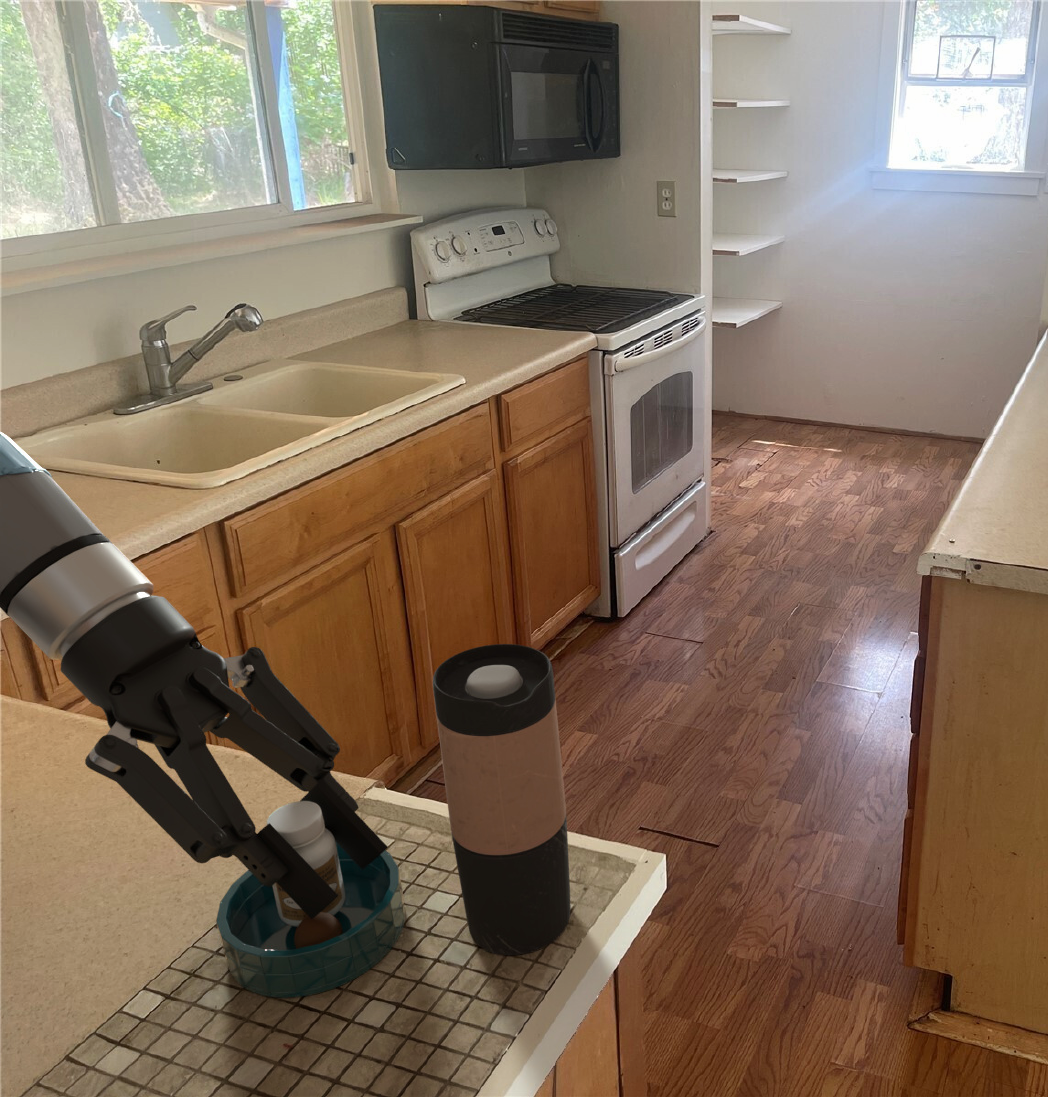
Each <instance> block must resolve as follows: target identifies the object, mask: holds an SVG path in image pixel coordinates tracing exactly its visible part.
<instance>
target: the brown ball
mask: <svg viewBox="0 0 1048 1097" xmlns="http://www.w3.org/2000/svg"><path fill="white" fill-rule="evenodd" d="M341 934H343V932H342V926H341V924H340V922H339V921H338V919H337V918H336V917H335V916H333V915H331V914H329V913H324V912H320V913H319V914H318V915H316V916H315V917H314V918H313V919H311V918H310V917H309V916H307V917H306V918H305V919H303V920H302V921H301V923H300V924H299V925H298V927H297V929H296V932H295V936H294V943H295V947H296V949H297V948H302V947H307V946H312V945H316V944H320V943H322V942H325V941H327V940H330V939H332V938H334V937H337V936H339V935H341Z"/></svg>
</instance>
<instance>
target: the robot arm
mask: <svg viewBox="0 0 1048 1097" xmlns="http://www.w3.org/2000/svg"><path fill="white" fill-rule="evenodd" d="M154 590H155V586H154V583H152V582H151V580H149V579H148V577H147V576H146V575H145V574H144V573H143V572H142V571H141V570H140V569H139V568H138V567H137V566H136V565H135V564H134V563H133V562H132V560H130V559H129V558H128V557H127V556H126V555H125V553H123V552H122V551H121V550H120V549H119V548H118V547H117V546H116V545H115V544H114V543H113V542H112V541H111V540H110V539H109V537H107V536H106V535H105V534H104V533H103V532H102V531H101V530H100V528H98V527H97V526H96V524H95V523H94V522H93V521H92V520H91V519H90V518H89V517H88V515H87V514H86V513H85V512H83V510H82V509H81V508H80V507H79V506H78V505H77V504H76V503H75V501H74V500H72V498H71V497H70V495H68V493H67V492H66V491H64V489H63V488H62V487H61V486H60V485H59V484H58V483H57V482H56V481H55V479H54V478H53V475H52V474H51V473H50V472H49V471H48V470H47V469H46V468H43V467H41V465H39V464H38V463H37V462H36V461H35V460H34V459H33V458H32V457H31V456H30V455H29V454H27V453H26V452H25V450H23V449H22V448H21V447H20V446H19V445H18V444H17V443H16V442H15V441H13V439H12V438H10V437H9V436H8V435H7V434H5V433H3V432H1V431H0V609H1V611H2V612H4V613H5V615H6V616H7V617H9V618H10V619H11V620H12V621H13V622H14V623H15V624H16V625H17V626H18V627H19V628H20V630H22V631H23V632H24V634H26V635H27V637H29V638H30V640H31V641H32V642H33V643H34V644H35V645H36V646H37V647H38V648H39V649H40V650H41V652H43V653H44V654H45V655H46V657H47V658H49V660H52V661H53V660H54V661H60V672H61V673H62V674H63V675H64V676H65V677H66V678H67V680H69V682H71V684H72V685H73V686H74V687H75V688H76V689H77V690H78V691H79V692H80V693H81V694H82V696H84V698H85V699H87V701H88V702H90V703H91V704H92V705H94V706H95V707H99V708H100V709H102V711H103V712H104V715H105V717H106V721H107V725H108V727H109V731H108V732H107V733H106V734H105V735H102V736H101V737H100V738H99V740H98V741H97V742H96V743H95V745H94V746H93V748H92V749H91V750H90V751H89V753H88V754H87V755H86V757H85V759H84V763H85V765H86V767H87V768H88V769H90V770H92V771H94V772H96V773H98V774H99V775H101V776H104V777H105V778H108V779H109V780H111V781H113V782H115V783H117V784H118V786H120V787H121V789H123V791H125V792H126V793H127V795H129V797H131V798H132V799H133V801H134V802H136V803H137V804H138V805H139V807H141V808H142V809H143V810H144V811H145V812H146V814H148V815H149V816H150V817H151V819H152V820H154V821H155V823H156V824H158V825H159V826H160V827H161V829H162V830H164V831H165V833H166V834H167V835H168V836H169V837H171V838H172V840H173V841H174V842H175V843H176V844H177V845H178V846H179V847H180V848H181V849H182V850H184V852H186V854H187V855H188V856H189V857H190V858H191V859H192V860H193V861H194V862H196V863H198V864H206V863H208V862H210V860H211V859H215V858H217V857H221V858H222V859H229V858H231V857H233V856H234V857H235V858H237V860H238V861H239V862H240V863H241V864H242V865H243V866H244V867H245V868H246V869H247V871H248V870H249V871H250V872H252V874H253V875H254V876H255V877H257V879H258V880H259V881H260V882H261V883H262V884H263V885H265V886H267V887H269V888H270V887H271V886H273V885H274V884H275V883H277V884H278V885H279V886H280V887H281V888H282V889H283V890H284V891H285V892H286V893H287V894H288V895H289V896H290V897H291V898H292V899H293V900H294V902H295V903H296V904H297V905H298V906H299V907H300V908H301V909H302V910H303V911H304V912H305V913H306V914H307V915H308V916H309V917H310V918H311V919H313V918H314V917H315V916H316V915H318V914H319V913H320V912H321V911H322V910H324V909H325V908H326V907H327V906H328V905H329V904H331V903H332V902H333V901H334V900H335V899H336V898H337V897H338V895H337V893H336V892H335V891H334V890H333V889H332V888H331V887H330V886H329V885H328V884H327V883H326V882H325V881H324V880H323V879H322V878H321V877H320V876H319V875H318V874H317V872H316V871H315V870H314V869H313V868H312V867H311V866H310V865H309V864H308V863H307V862H306V861H305V860H304V859H303V858H302V857H301V856H300V855H299V854H298V853H297V851H296V850H295V849H294V848H293V847H292V846H291V845H290V844H289V843H288V842H287V841H286V840H285V839H284V838H283V837H282V836H281V835H280V834H279V833H278V832H277V830H276V829H275V828H274V827H273V826H272V825H271V824H270V823H269V824H268V825H267V824H266V825H265V826H264V827H263V828H262V829H260V831H258V832H256V829H257V828H256V825H255V823H254V822H253V819H252V818H251V817H250V815H249V813H248V811H247V810H246V808H245V807H244V805H243V803H242V802H241V800H240V798H239V797H238V795H237V794H236V792H235V791H234V789H233V787H232V785H231V784H230V782H229V780H228V779H227V777H226V775H225V773H224V772H223V771H222V769H221V767H220V766H219V763H217V761H216V759H215V757H214V756H213V754H212V752H211V751H210V749H209V748H208V745H207V736H206V734H205V733H207V732H210V733H212V735H214V736H215V737H217V738H218V739H219V738H220V739H227V740H229V741H231V742H232V743H233V744H235V745H236V746H237V747H239V748H240V749H242V750H243V751H245V752H246V753H248V754H249V755H250V756H252V757H253V758H255V760H257V761H258V762H260V763H262V764H263V765H265V767H267V768H269V769H270V770H272V771H273V772H274V773H276V774H277V775H279V776H280V777H282V778H283V779H285V780H286V781H288V782H289V783H290V784H291V785H293V786H295V787H296V788H297V789H299V790H300V791H302V792H304V793H305V792H307V793H306V794H305V795H304V796H303V797H302V798H301V799H300V800H299V801H310V802H314V803H316V804H317V805H319V807H320V808H321V811H322V815H323V819H324V825H325V828H326V829H328V830H329V831H330V832H331V833H332V834H333V836H334V839H335V842H336V843H337V844H338V845H339V846H340V847H341V848H342V849H343V850H344V851H345V852H346V853H347V854H348V855H349V856H350V858H351V859H352V860H353V861H354V862H355V863H356V864H357V865H358V866H359V867H360V868H361V869H362V870H363V869H364V868H365V867H366V866H368V865H369V864H370V863H371V862H372V861H373V860H375V859H376V858H377V857H378V856H379V855H381V854H382V853H383V852H384V851H385V850H386V851H387V849H388V848H389V846H388V845H386V843H385V842H384V841H383V840H382V839H381V838H380V837H379V836H378V834H376V833H375V831H374V830H373V829H371V827H369V825H368V824H367V823H366V822H365V821H364V820H363V819H362V818H361V817H360V816H359V815H358V813H356V811H357V810H358V809H360V807H359V805H358V803H357V801H356V799H355V798H354V797H353V796H352V795H351V794H350V793H349V792H348V791H347V790H346V789H345V788H344V787H343V785H341V783H340V782H338V780H337V779H336V778H335V777H334V776H333V775H332V773H331V771H333V769H334V768H335V761H334V760H335V758H336V757H337V756H338V755H339V753H341V752H340V751H341V746H340V744H339V742H337V741H336V740H335V739H334V738H333V737H332V735H330V733H329V732H328V731H327V730H326V729H325V727H323V725H322V724H320V722H319V721H318V720H317V719H316V718H315V717H314V716H313V715H312V713H310V711H309V710H308V709H307V708H306V707H305V706H304V705H303V704H302V703H301V701H300V700H299V699H298V698H297V697H296V696H295V695H294V694H293V693H292V692H291V691H290V689H289V688H287V687H286V686H285V684H284V683H283V682H282V681H281V680H280V679H279V677H277V675H275V673H274V672H273V670H272V668H271V665H270V664H269V662H268V659H267V657H266V654H265V652H264V651H263V650H262V649H261V648H260V647H257V646H251V647H249V648H248V649H247V650H246V651H245V652H244V654H242V655H235V656H229V657H223V656H222V655H220V654H219V653H218V652H215V651H213V650H211V649H208V647H205V646H204V645H203V644H202V642H200V640H199V638H198V634H197V632H196V629H194V627H193V626H192V625H191V624H190V622H188V620H186V618H184V616H183V615H182V614H181V613H180V612H179V611H178V610H177V609H176V608H175V607H174V606H173V605H172V603H170V602H169V600H167V598H166V597H165V596H159V595H154ZM229 681H231V682H232V683H231V686H232V687H233V688H234V689H240V690H241V692H242V694H243V695H244V697H243V696H242V695H241V694H239V693H237V692H236V691H235V690H233V689H232V688H231V687H230V682H229ZM252 706H253V707H254V708H255V709H256V710H257V712H258V713H257V712H256V711H254V709H253V708H252ZM138 741H140V742H144V743H148V744H152V745H154V747H155V748H156V750H157V752H158V753H159V754H160V757H161V758H162V760H163V761H164V763H165V765H166V766H167V768H168V769H170V770H171V769H172V770H174V772H175V773H176V775H177V777H178V778H179V779H180V781H181V783H182V784H183V786H184V788H185V790H186V791H187V792H185V790H183V789H182V788H181V786H180V785H178V783H177V782H176V781H175V780H174V779H173V778H172V777H170V775H169V774H168V773H167V772H166V771H165V770H164V769H163V768H162V767H161V766H160V765H159V764H158V763H157V762H156V761H155V760H154V759H153V758H152V757H151V756H150V755H149V754H147V753H146V752H145V751H143V749H140V748H139V744H138Z"/></svg>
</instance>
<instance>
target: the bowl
mask: <svg viewBox="0 0 1048 1097" xmlns="http://www.w3.org/2000/svg"><path fill="white" fill-rule="evenodd" d="M335 843H336V842H335ZM336 848H337V852H338V858H339V863H340V869H341V874H342V880H343V885H344V891H345V901H344V904H343V905H342V907H341V909H340V910H339V911H338V912H337V913H336V914H335V915H334V916H335V917H336V918H337V919H338V921H339V922H340V924H341V926H342V932H343V934H341V935H339V936H337V937H334V938H332V939H330V940H327V941H325V942H322V943H320V944H316V945H312V946H307V947H302V948H297V949H296V947H295V943H294V936H295V932H296V929H297V927H296V926H291V925H288V924H286V923H285V922H284V921H282V920H281V918H280V916H279V914H278V909H277V905H276V900H275V895H274V891H273V886H271V887H270V888H269V887H267V886H265V885H263V884H262V883H261V882H260V881H259V880H258V879H257V877H255V876H254V875H253V874H252V872H250V871H249V870H248V869H247V870H246V871H245V872H244V873H243V874H242V875H240V876H239V877H238V878H237V879H236V880H235V881H234V882H232V884H231V885H230V886H229V888H228V890H227V891H226V893H225V894H224V896H223V897H222V898H221V900H220V902H219V906H218V910H217V915H216V919H215V924H216V926H217V930H218V934H219V939H220V942H221V946H222V950H223V954H224V957H225V960H226V963H227V968H228V971H229V972H230V974H231V976H232V978H233V979H234V980H235V982H236V983H238V984H239V985H240V987H242V988H243V989H245V990H248V991H249V992H251V993H254V994H257V995H260V996H264V997H269V998H278V999H280V998H281V999H288V998H299V997H301V998H302V997H309V996H312V995H317V994H320V993H324V992H327V991H331V990H333V989H336V988H338V987H341V986H343V985H345V984H347V983H349V982H351V981H353V980H355V979H357V978H359V977H360V976H361V975H364V974H365V973H366V972H368V971H369V970H371V969H372V968H373V967H374V966H376V965H377V964H378V963H379V962H380V961H381V960H382V959H384V958H385V956H386V955H388V954H389V952H390V951H391V950H392V949H393V947H394V946H395V944H396V943H397V941H398V939H399V938H400V936H401V934H402V931H403V928H404V925H405V919H406V909H405V897H404V891H403V887H402V880H401V872H400V868H399V866H398V863H397V862H396V860H395V859H394V857H393V856H392V854H391V852H389V851H387V849H386V850H385V851H384V852H383V853H382V854H381V855H379V856H378V857H377V858H376V859H375V860H373V861H372V862H371V863H370V864H369V865H368V866H366V867H365V868H364V869H363V870H362V869H361V868H360V867H359V866H358V865H357V864H356V863H355V862H354V861H353V860H352V859H351V858H350V856H349V855H348V854H347V853H346V852H345V851H344V850H343V849H342V848H341V847H340V846H339V845H338V844H337V843H336Z"/></svg>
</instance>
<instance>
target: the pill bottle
mask: <svg viewBox="0 0 1048 1097" xmlns="http://www.w3.org/2000/svg"><path fill="white" fill-rule="evenodd" d="M269 823H270V824H271V825H272V826H273V827H274V828H275V829H276V830H277V832H278V833H279V834H280V835H281V836H282V837H283V838H284V839H285V840H286V841H287V842H288V843H289V844H290V845H291V846H292V847H293V848H294V849H295V850H296V851H297V853H298V854H299V855H300V856H301V857H302V858H303V859H304V860H305V861H306V862H307V863H308V864H309V865H310V866H311V867H312V868H313V869H314V870H315V871H316V872H317V874H318V875H319V876H320V877H321V878H322V879H323V880H324V881H325V882H326V883H327V884H328V885H329V886H330V887H331V888H332V889H333V890H334V891H335V892H336V893H337V895H338V897H337V898H336V899H335V900H334V901H333V902H332V903H331V904H329V905H328V906H327V907H326V908H325V909H324V910H322V911H321V912H324V913H329V914H331V915H333V916H334V915H335V914H336V913H337V912H338V911H339V910H340V909H341V907H342V905H343V904H344V901H345V891H344V885H343V880H342V874H341V869H340V863H339V858H338V852H337V848H336V843H335V839H334V836H333V834H332V833H331V832H330V831H329V830H328V829H326V828H325V825H324V819H323V815H322V811H321V808H320V807H319V805H317V804H316V803H314V802H310V801H300V800H298V801H293V802H289V803H286V804H283V805H282V806H280V807H278V808H277V809H275V810H274V811H272V813H270V814H269V816H268V817H267V820H266V825H268V824H269ZM273 891H274V895H275V900H276V905H277V909H278V914H279V916H280V918H281V920H282V921H284V922H285V923H286V924H288V925H291V926H296V927H298V925H299V924H300V923H301V921H302V920H303V919H305V918H306V917H307V916H308V915H307V914H306V913H305V912H304V911H303V910H302V909H301V908H300V907H299V906H298V905H297V904H296V903H295V902H294V900H293V899H292V898H291V897H290V896H289V895H288V894H287V893H286V892H285V891H284V890H283V889H282V888H281V887H280V886H279V885H278V884H277V883H275V884H274V885H273Z"/></svg>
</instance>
